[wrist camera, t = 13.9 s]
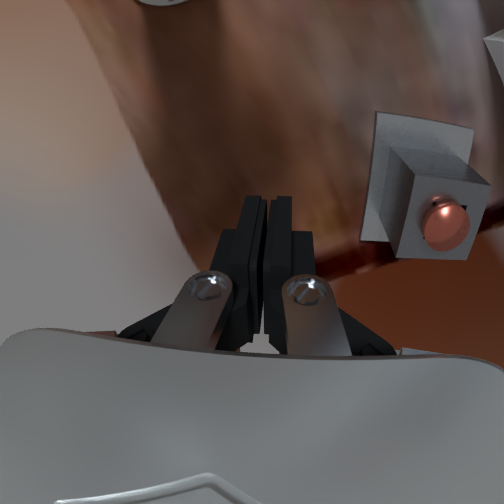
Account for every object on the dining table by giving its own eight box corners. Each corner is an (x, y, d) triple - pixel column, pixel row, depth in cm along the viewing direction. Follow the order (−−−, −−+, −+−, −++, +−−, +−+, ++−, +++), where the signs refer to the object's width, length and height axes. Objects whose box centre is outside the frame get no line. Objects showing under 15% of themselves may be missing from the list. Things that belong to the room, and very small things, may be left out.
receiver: (375, 110, 32) (402, 133, 24) (470, 127, 30) (512, 155, 22) (359, 236, 43) (372, 283, 35) (442, 240, 41) (467, 284, 33)
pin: (404, 166, 34) (433, 203, 26) (442, 172, 33) (476, 209, 26) (396, 206, 37) (419, 250, 29) (432, 209, 36) (460, 252, 29)
